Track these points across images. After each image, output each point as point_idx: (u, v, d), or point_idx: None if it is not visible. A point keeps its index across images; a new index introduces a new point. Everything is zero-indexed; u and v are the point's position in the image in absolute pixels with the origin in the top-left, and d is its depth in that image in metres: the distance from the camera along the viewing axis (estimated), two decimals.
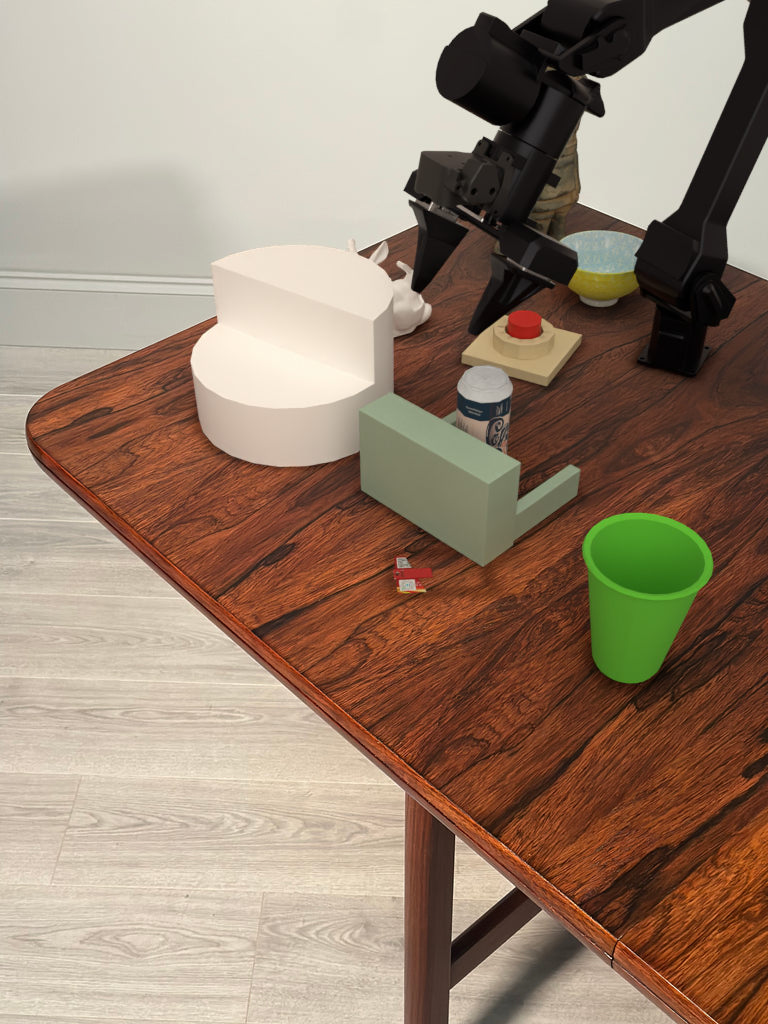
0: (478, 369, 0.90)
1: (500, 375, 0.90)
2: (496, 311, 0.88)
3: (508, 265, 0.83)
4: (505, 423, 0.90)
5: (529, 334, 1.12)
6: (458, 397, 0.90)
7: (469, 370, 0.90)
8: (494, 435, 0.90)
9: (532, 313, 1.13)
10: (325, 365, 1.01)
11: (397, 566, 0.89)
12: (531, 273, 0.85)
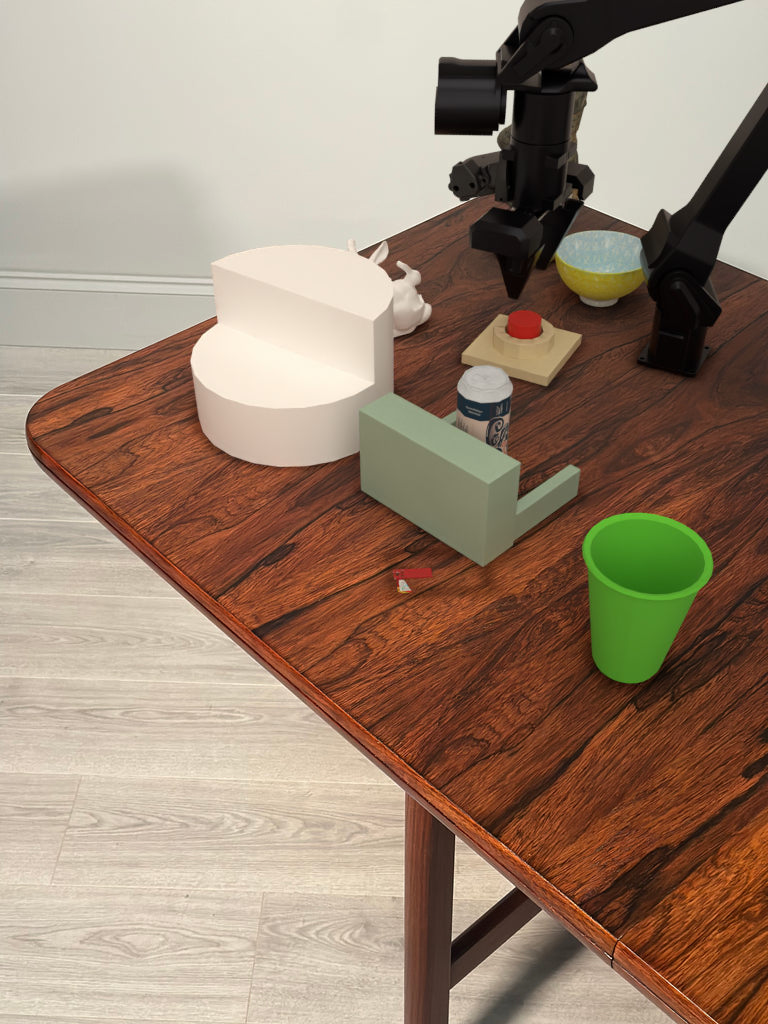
0: (478, 369, 0.90)
1: (500, 375, 0.90)
2: (514, 279, 1.05)
3: None
4: (505, 423, 0.90)
5: (529, 334, 1.12)
6: (458, 397, 0.90)
7: (469, 370, 0.90)
8: (494, 435, 0.90)
9: (532, 313, 1.13)
10: (325, 365, 1.01)
11: None
12: None
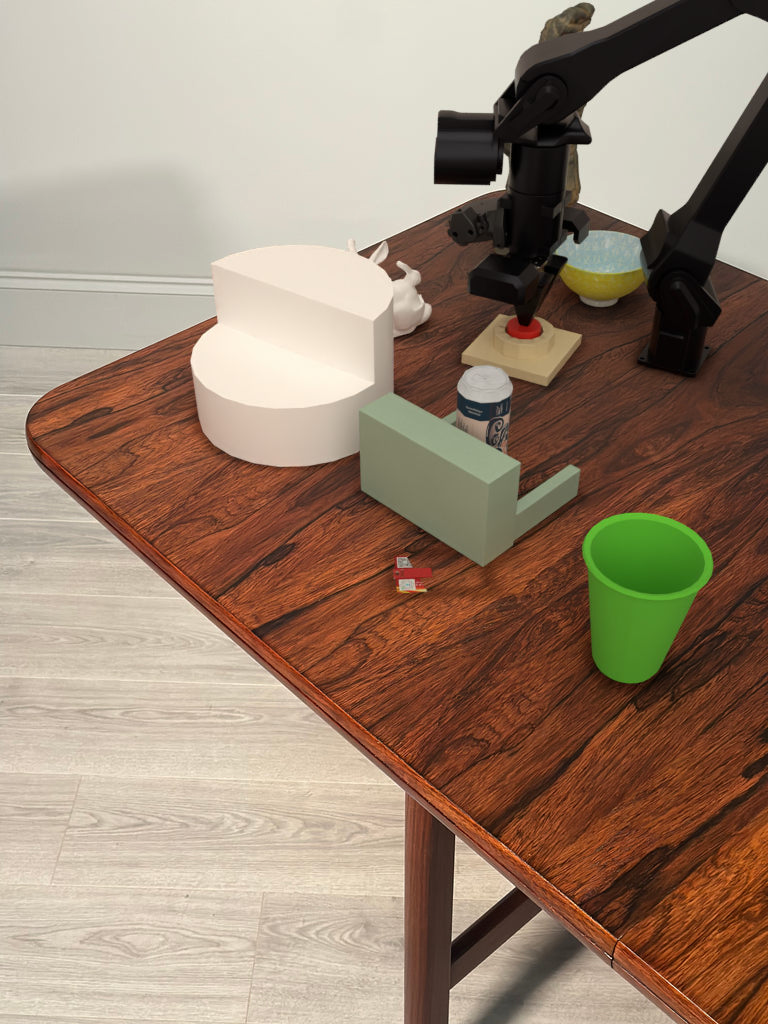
0: (478, 369, 0.90)
1: (500, 375, 0.90)
2: (525, 307, 1.10)
3: None
4: (505, 423, 0.90)
5: None
6: (458, 397, 0.90)
7: (469, 370, 0.90)
8: (494, 435, 0.90)
9: None
10: (325, 365, 1.01)
11: (397, 566, 0.89)
12: None
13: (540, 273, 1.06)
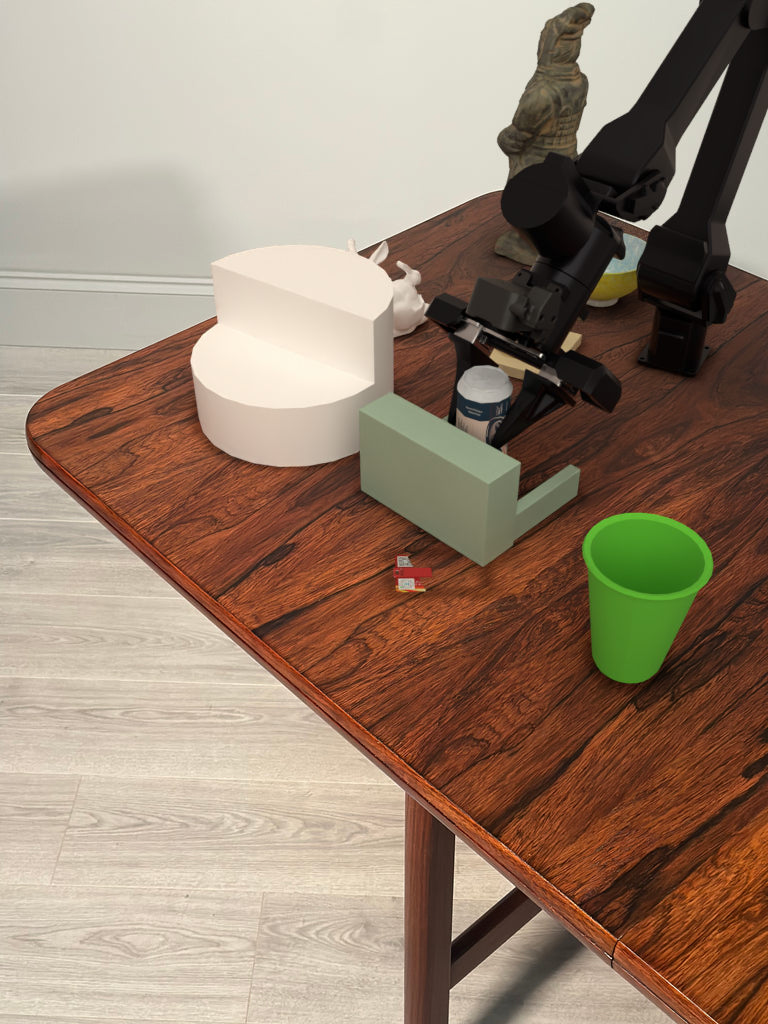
0: (478, 369, 0.90)
1: (500, 375, 0.90)
2: (520, 426, 0.90)
3: (548, 381, 0.86)
4: None
5: None
6: (458, 397, 0.90)
7: (469, 370, 0.90)
8: None
9: None
10: (325, 365, 1.01)
11: (397, 565, 0.89)
12: (563, 390, 0.88)
13: None
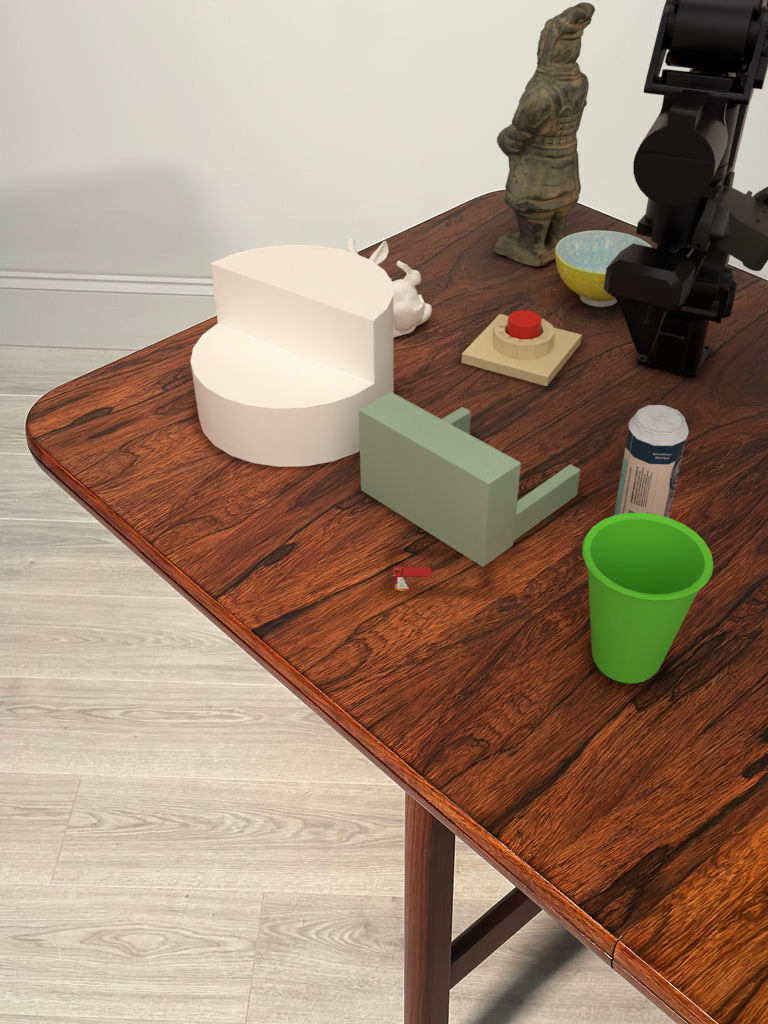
0: (643, 412, 0.85)
1: (669, 412, 0.85)
2: None
3: None
4: (681, 459, 0.86)
5: (529, 334, 1.12)
6: (638, 446, 0.84)
7: (637, 415, 0.85)
8: (676, 474, 0.86)
9: (532, 313, 1.13)
10: (325, 365, 1.01)
11: None
12: None
13: None
